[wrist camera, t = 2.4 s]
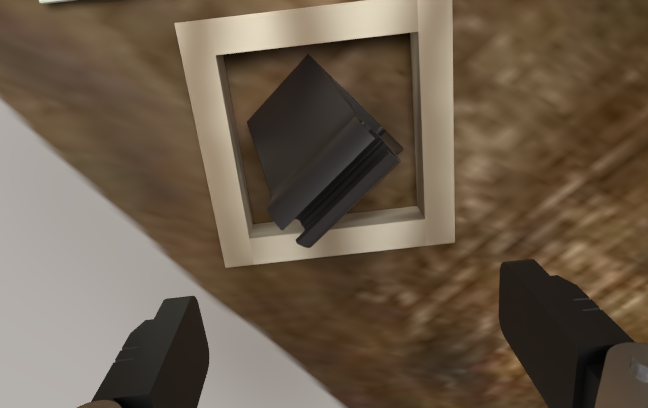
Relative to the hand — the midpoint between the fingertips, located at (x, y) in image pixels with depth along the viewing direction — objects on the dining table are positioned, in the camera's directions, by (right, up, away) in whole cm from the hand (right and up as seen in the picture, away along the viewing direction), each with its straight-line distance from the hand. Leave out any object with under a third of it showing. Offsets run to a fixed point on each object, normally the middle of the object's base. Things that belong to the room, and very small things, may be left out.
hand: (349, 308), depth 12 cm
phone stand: (-1, +8, +20) cm, 21 cm away
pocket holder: (-1, +8, +20) cm, 21 cm away
